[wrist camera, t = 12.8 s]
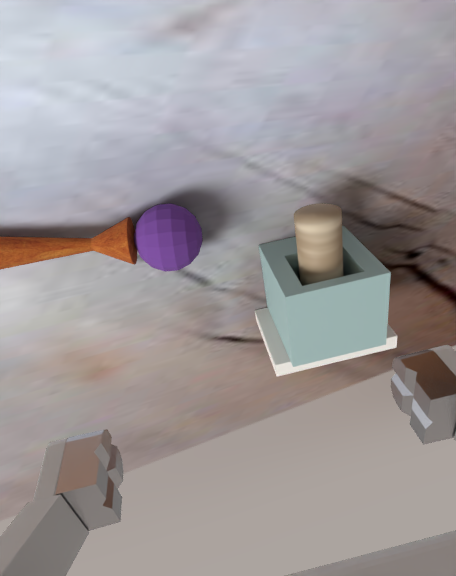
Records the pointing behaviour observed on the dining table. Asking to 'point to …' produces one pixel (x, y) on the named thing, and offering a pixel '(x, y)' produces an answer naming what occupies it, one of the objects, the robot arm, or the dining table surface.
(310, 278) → the dowel
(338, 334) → the block
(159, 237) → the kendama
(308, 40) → the dining table surface
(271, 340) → the slab
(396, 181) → the dining table surface
